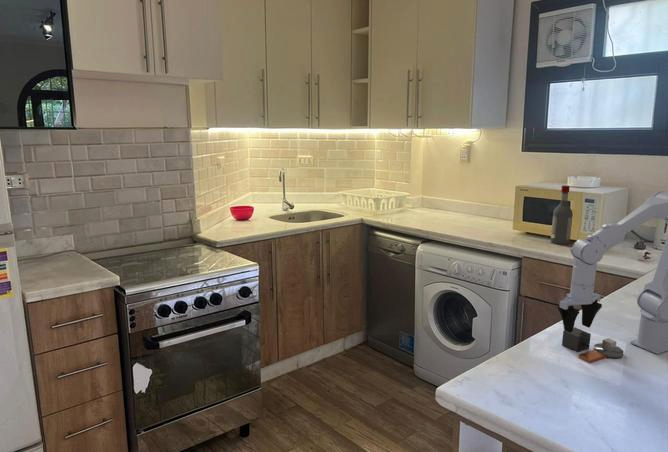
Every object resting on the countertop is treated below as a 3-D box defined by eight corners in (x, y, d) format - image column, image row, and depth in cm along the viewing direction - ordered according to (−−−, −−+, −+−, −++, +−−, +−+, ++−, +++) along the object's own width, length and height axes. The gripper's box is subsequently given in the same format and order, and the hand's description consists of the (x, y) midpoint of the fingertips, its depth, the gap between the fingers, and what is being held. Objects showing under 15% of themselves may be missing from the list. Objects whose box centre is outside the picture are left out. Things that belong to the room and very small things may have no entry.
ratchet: (604, 345, 142) (605, 333, 141) (628, 355, 136) (630, 343, 135) (572, 355, 136) (573, 342, 135) (596, 366, 130) (598, 353, 129)
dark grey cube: (573, 341, 144) (575, 327, 143) (589, 348, 140) (590, 333, 139) (561, 345, 142) (563, 330, 141) (577, 352, 137) (578, 337, 136)
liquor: (569, 241, 262) (575, 185, 256) (569, 245, 254) (575, 187, 248) (550, 239, 266) (556, 184, 259) (550, 243, 258) (555, 186, 251)
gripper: (587, 275, 143) (581, 319, 146) (552, 282, 137) (547, 327, 140) (609, 282, 137) (603, 327, 140) (574, 290, 131) (569, 337, 134)
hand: (577, 328), depth 139 cm, fingers open, 7 cm apart
